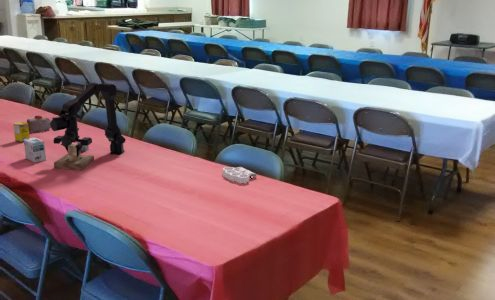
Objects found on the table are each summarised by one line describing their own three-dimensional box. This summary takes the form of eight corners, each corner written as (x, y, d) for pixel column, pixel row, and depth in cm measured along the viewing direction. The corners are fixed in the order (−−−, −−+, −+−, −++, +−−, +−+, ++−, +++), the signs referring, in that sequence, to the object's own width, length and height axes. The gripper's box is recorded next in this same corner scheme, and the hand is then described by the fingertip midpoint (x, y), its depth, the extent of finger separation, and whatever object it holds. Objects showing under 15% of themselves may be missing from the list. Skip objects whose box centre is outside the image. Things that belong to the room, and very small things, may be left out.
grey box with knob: (47, 127, 346) (46, 112, 343) (52, 130, 340) (51, 115, 337) (26, 131, 337) (24, 116, 334) (31, 133, 331) (29, 118, 328)
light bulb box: (46, 160, 283) (44, 140, 280) (34, 162, 278) (32, 143, 275) (37, 155, 290) (35, 136, 287) (25, 158, 285) (23, 139, 282)
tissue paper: (260, 180, 262) (236, 186, 253) (239, 170, 275) (215, 175, 267) (260, 173, 261) (236, 179, 252) (239, 164, 274) (215, 169, 266)
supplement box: (30, 140, 316) (28, 123, 313) (21, 143, 312) (19, 125, 308) (24, 139, 319) (22, 121, 316) (15, 141, 315) (13, 123, 311)
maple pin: (79, 160, 278) (78, 144, 276) (76, 163, 274) (75, 146, 272) (72, 160, 279) (71, 144, 276) (69, 162, 275) (67, 146, 272)
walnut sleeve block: (94, 160, 283) (93, 155, 282) (82, 170, 269) (81, 164, 268) (67, 159, 285) (67, 153, 284) (54, 168, 271) (53, 162, 270)
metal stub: (88, 149, 302) (88, 141, 301) (85, 151, 298) (85, 143, 297) (82, 149, 303) (81, 140, 301) (78, 151, 299) (78, 142, 297)
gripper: (46, 130, 265) (49, 159, 269) (82, 132, 262) (84, 162, 267) (57, 124, 275) (60, 153, 280) (91, 126, 273) (93, 155, 277)
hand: (74, 156), depth 276 cm, fingers closed on maple pin, 4 cm apart
